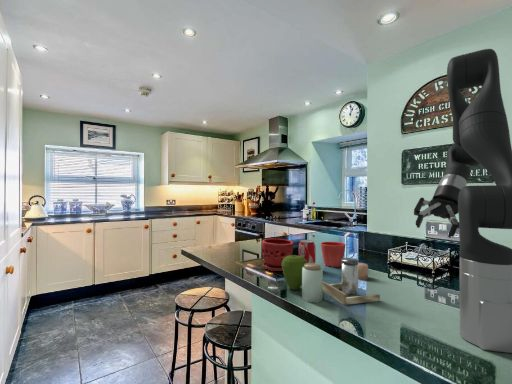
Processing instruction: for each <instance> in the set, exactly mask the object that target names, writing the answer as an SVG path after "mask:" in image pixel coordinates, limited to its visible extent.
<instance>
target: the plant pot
mask: <svg viewBox="0 0 512 384" xmlns="http://www.w3.org/2000/svg"><path fill="white" fill-rule="evenodd" d="M293 251H294V242H293V241H292V240H290V239H284V238H265V239H264V238H263V239H262V241H261V254H262V259H263V261H264V262H262V267H263V269H265V270H266V269H268V270H267V271H269V270H272V271H271V272H274V271H283V270H282V261H283V259H284V258H285V257H286V256H289V255H293Z"/></svg>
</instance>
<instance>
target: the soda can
mask: <svg viewBox="0 0 512 384" xmlns="http://www.w3.org/2000/svg"><path fill="white" fill-rule="evenodd" d="M297 250H298V251H297V252H298V255H297V256H302V257H303V258H305V259H306V260H307V263H315V264H316V260H317V259H316V257H317V255H316V251H317V250H316V243H315V241H314V240H311V239H301V240H300V241H299V243H298V249H297Z"/></svg>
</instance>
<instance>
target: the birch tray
mask: <svg viewBox="0 0 512 384" xmlns="http://www.w3.org/2000/svg"><path fill="white" fill-rule="evenodd" d="M339 289H340V290H339ZM323 292H324V293H325V294H326V295H327V296H330V297H331V298H332V299H333V300H335V301H337V302H339V303H341V304H342V305H343V306H347V305H348V306H349V305H355V304H363V303H372V302H380V301H381V295H380V293H375V294H374V293H373V294H367V295H358V296H355V297H346V294H345V293H343V292H342V282H339V283H331V284H330V283H327V282H325V281H324V280H323V284H322V293H323Z"/></svg>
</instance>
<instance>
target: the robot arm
mask: <svg viewBox="0 0 512 384" xmlns="http://www.w3.org/2000/svg"><path fill="white" fill-rule="evenodd" d="M446 84H447V92H448V93H447V94H448V98H449V99H448V100H449V106H450V112H451V118H452V141H453V144H454V145H451V146H450V147H449V148H448V149H447V152H446V167H445V171H444V172H443V175H442V176H441V177H442V178H441V179H440V181H439V183H438V185H437V186H436V188H435V191H434V193H433V195H432V198H431V199H430V200H426V199H425V198H424V197H420V198H419V200H418V202H417V203H416V205H415V207H414V209H413V215H414V216H417V218H416V220H415V226H416V228H417V229H420V227H421V226H422V223H423V220H424V218H426V217H430V216H432V215H433V216H434V217H438V218H441V219H443V220H445V219H447V220H448V223H450V225H451V227H450V229H449V232H448V235H447V238H449V239H451V237H452V238H453V237H455V235H456V233H457V230H458V229H459V335H460V337H462V338H463V340H465V341H466V342H469V343H470V344H473V345H475V346H477V347H479V348H480V349H481V350H484V351H492V352H500V353H509V354H512V247H509V246H507V245H504V244H500V243H498V242H494V241H493V240H490V239H487V238H486V237H485V236H483V235H481V233H480V231H479V229H480V228H482V229H494V230H495V229H499V230H512V144H511V142H512V141H511V136H510V129H509V128H510V126H509V122H508V121H509V120H508V116H507V114H506V113H507V112H506V108H505V106H504V105H505V104H504V101H503V96H502V91H501V89H502V88H501V80H500V65H499V59H498V54H497V52H496V51H495V49H493V48H485V49H484V48H483V49H479V50H476V51H471V52H468V53H465V54H460V55H456V56H453V57H452V58H450V59H449V61H448V63H447V67H446ZM480 86H482V87H481V89H480V90H479V92H478V94H477V96H476V97H474V99H473V100H472V101H471V103H468V102H467V101H466V100H465V98H464V96H463V94H462V90H465V89H470V88H475V87H480ZM480 165H481V166H482V167H483V168H484V169H485V170H486V171H487V172H488V173H489V175H490V176H491V178H492V180H493V181H494V183H495V185H494V184H493V185H484V184H483V185H478V184H477V185H468V182H469V179H470V177H471V173H472V171H471V170H472V169H471V168H470V167H477V166H480ZM427 205H428V207H426V208H425V209H423V210H421V209H422V207H425V206H427ZM457 214H458V219H457V217H456V215H457Z"/></svg>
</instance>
